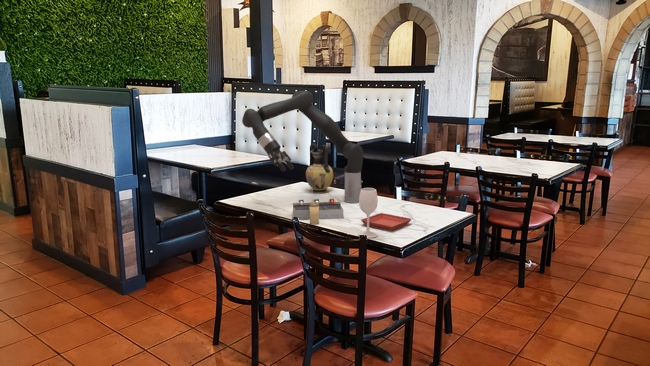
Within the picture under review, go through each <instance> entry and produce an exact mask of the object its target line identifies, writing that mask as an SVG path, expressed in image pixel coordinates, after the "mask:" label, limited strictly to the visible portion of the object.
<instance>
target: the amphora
mask: <svg viewBox="0 0 650 366" xmlns="http://www.w3.org/2000/svg"><path fill="white" fill-rule="evenodd" d="M305 178H306V182H307V184H308V186H309V187H310V188H311V189H312V193H315V194H323V193H327V192H328V188H329V187H330V186H331V184H332V181H333V180H334V170H333V167H331V166H330V165H329V147H328V146H327V145H326V144H322V145H320V147H319V148H318V145H317V144H316V143H311V144H310V146H309V166H307V169H306V171H305Z"/></svg>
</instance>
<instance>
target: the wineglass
mask: <svg viewBox="0 0 650 366" xmlns="http://www.w3.org/2000/svg"><path fill="white" fill-rule="evenodd" d="M358 203H359V204H358V206H359V209H360V210H361V212H362V213H364V214H365V215H366V218H367V226H366V230H365V231H361V232H359V233H358V235H357V236H359V235H367V239H372V238H376V237H378V234H377V232H374V231H370V226H369V217H370V216H371V214H373V213H374V212H376V209H377V208H378V193H377V189H375V188H373V187H364V188H361V192H360V196H359V202H358Z"/></svg>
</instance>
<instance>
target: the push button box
mask: <svg viewBox="0 0 650 366" xmlns="http://www.w3.org/2000/svg"><path fill="white" fill-rule="evenodd" d="M313 202H317V203H319V220H335V219H337V220H338V219H344V218H345V216H344V208H343V207H342V203H341V201H335V198H329V200H328V201H321V202H320V199H318V198H314V199H313ZM310 203H311V202H305V201H304V199H299V200H298V202H295V203H294V202H293V203H292V217H293V218H294V217H298V218H299V220H298V221H302V220H303V221H305V220H306V221H307V220H308V221H310Z"/></svg>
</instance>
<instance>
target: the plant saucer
mask: <svg viewBox="0 0 650 366" xmlns="http://www.w3.org/2000/svg"><path fill="white" fill-rule="evenodd" d="M411 221H412V218H411V217H406V216H405V217H404V216H399V215H394V214H389V213H384V212H380V213H377V214H374V215H370V216H369V228H370V227H371V228H375V229H380V230H383V231H384V230H385V231H388V232H392V231H394V230H397V229H399V228H402V227H405V226H406V225H408V224H409V223H410V222H411ZM360 222H361V223H363V224H364V226H366V227H367V217H365V218H364V217H363V218H361V219H360Z"/></svg>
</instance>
